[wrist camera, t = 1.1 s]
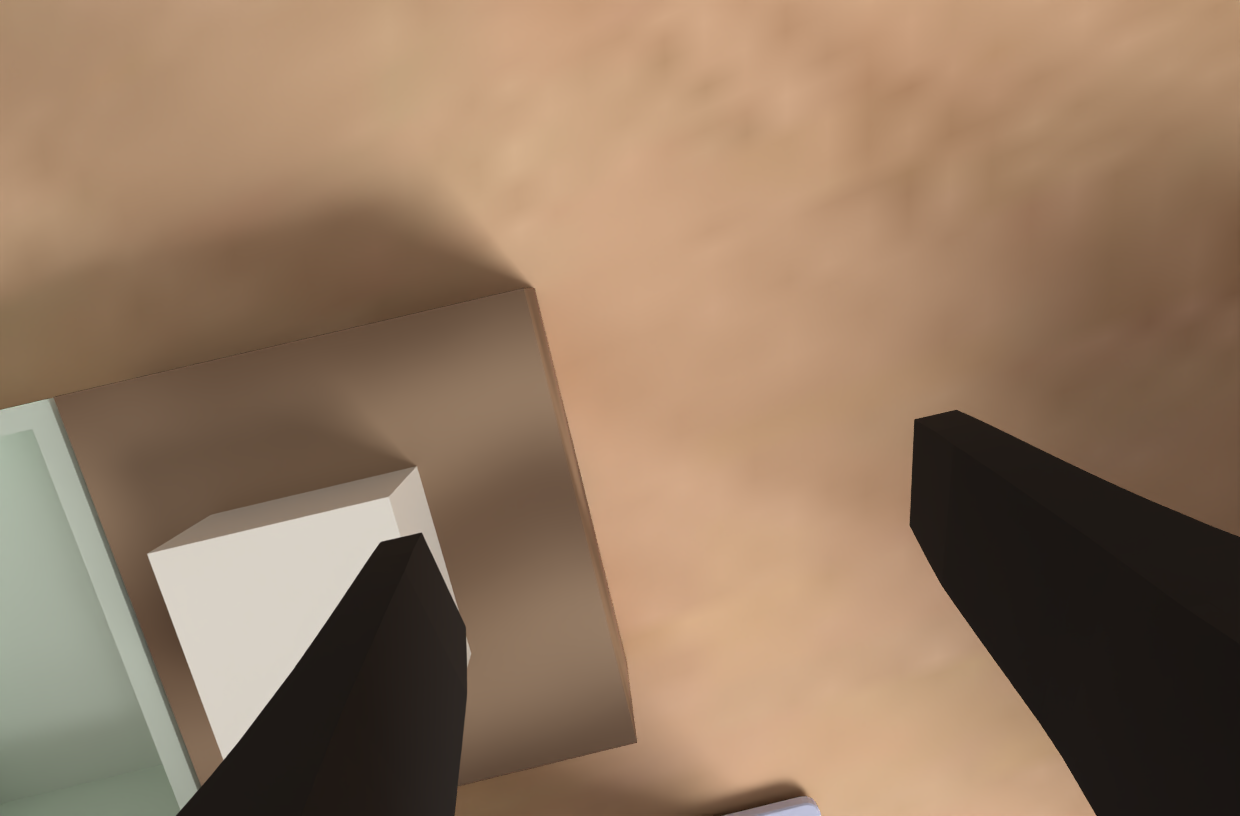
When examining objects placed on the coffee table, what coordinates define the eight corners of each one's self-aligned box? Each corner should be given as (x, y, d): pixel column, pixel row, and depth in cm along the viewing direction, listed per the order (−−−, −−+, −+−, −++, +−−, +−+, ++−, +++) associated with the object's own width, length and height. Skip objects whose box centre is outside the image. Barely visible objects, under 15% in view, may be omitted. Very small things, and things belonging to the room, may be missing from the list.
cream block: (471, 653, 18) (454, 713, 15) (275, 700, 18) (226, 767, 15) (416, 466, 17) (388, 496, 14) (210, 514, 17) (147, 554, 14)
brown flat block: (626, 662, 22) (637, 742, 18) (286, 744, 22) (222, 843, 18) (534, 288, 20) (523, 288, 16) (157, 375, 20) (53, 397, 16)
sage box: (270, 748, 22) (213, 833, 19) (-13, 816, 22) (-123, 915, 18) (140, 379, 20) (47, 399, 16) (-175, 452, 20) (-334, 487, 16)
